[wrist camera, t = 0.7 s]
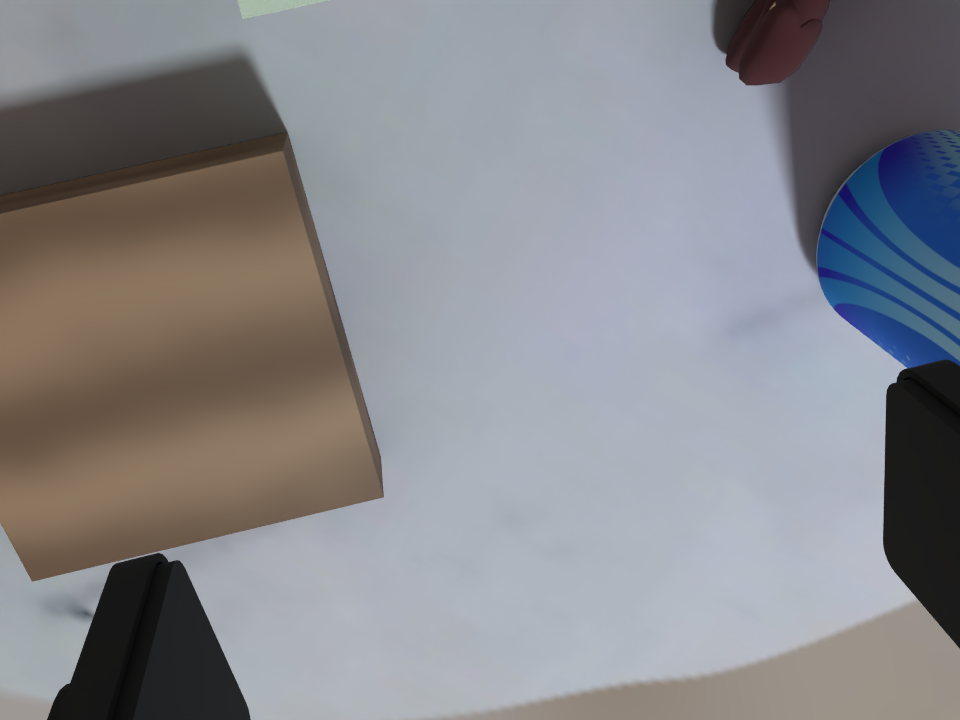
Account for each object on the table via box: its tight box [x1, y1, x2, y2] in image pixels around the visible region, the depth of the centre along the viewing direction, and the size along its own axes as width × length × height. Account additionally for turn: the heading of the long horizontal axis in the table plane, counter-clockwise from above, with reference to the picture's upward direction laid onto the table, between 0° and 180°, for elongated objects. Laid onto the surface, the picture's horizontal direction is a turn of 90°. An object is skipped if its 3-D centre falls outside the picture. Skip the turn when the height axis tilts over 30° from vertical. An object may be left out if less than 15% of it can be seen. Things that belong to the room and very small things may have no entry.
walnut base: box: [0, 132, 384, 581], centre depth 33 cm, size 14×14×3 cm
